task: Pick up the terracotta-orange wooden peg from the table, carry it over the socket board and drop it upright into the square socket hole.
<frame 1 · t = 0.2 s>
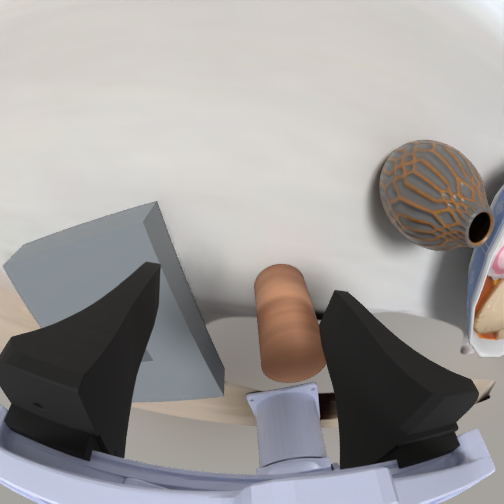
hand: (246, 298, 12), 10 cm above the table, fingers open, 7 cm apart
socket board: (123, 314, 25), on the table
vase: (405, 176, 20), on the table
peg: (279, 285, 24), on the table
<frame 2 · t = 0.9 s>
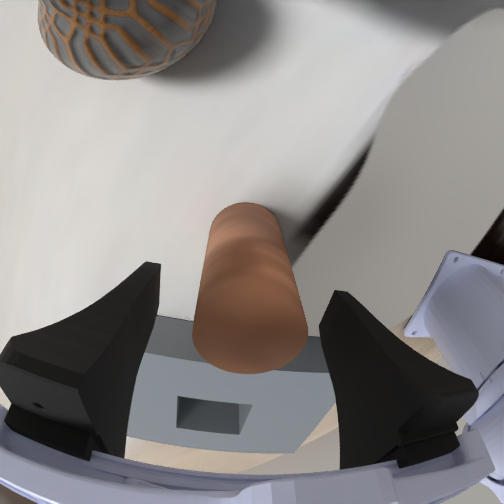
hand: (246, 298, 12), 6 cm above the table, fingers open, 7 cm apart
socket board: (213, 383, 24), on the table
vase: (153, 22, 11), on the table
peg: (245, 235, 17), on the table
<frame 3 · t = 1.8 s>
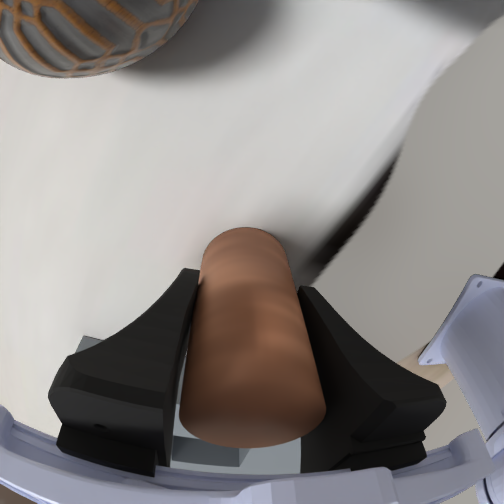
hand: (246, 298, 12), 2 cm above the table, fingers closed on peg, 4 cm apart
socket board: (210, 415, 21), on the table
vase: (131, 6, 8), on the table
peg: (244, 266, 14), on the table, touching gripper
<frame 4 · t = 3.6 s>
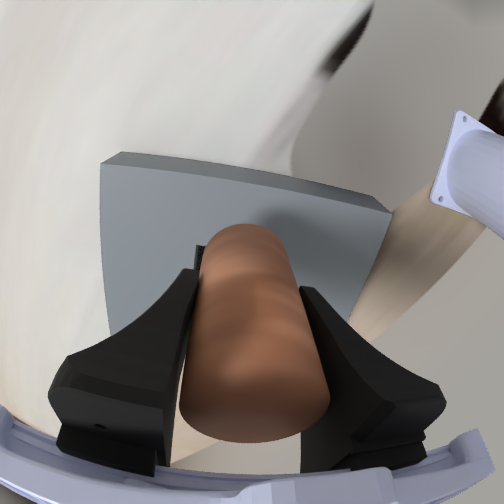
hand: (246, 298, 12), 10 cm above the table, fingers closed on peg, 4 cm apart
socket board: (233, 259, 23), on the table
peg: (244, 263, 14), point 7 cm above the table, touching gripper
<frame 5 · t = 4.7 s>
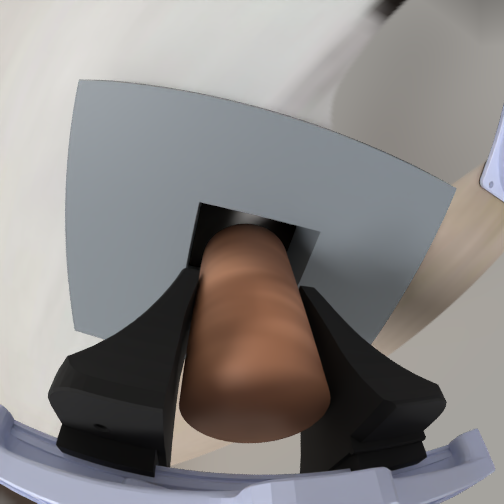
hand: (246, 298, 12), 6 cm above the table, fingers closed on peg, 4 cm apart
socket board: (243, 235, 17), on the table
peg: (244, 263, 14), point 3 cm above the table, touching gripper
when the fingers open (4 cm above the table, at t = 5.4 s): peg drops 2 cm, resting in socket board.
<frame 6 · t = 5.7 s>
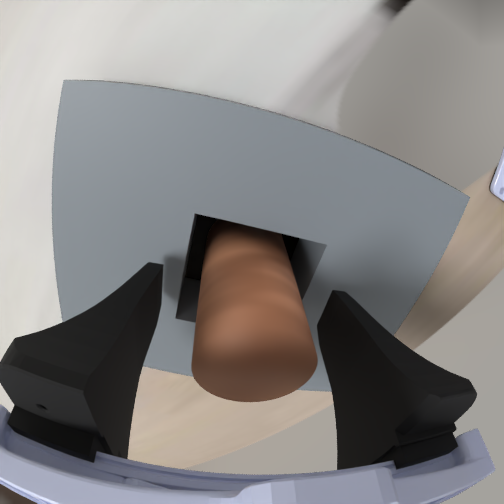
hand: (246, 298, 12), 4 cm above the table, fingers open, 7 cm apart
socket board: (243, 246, 16), on the table
peg: (244, 244, 16), resting in socket board
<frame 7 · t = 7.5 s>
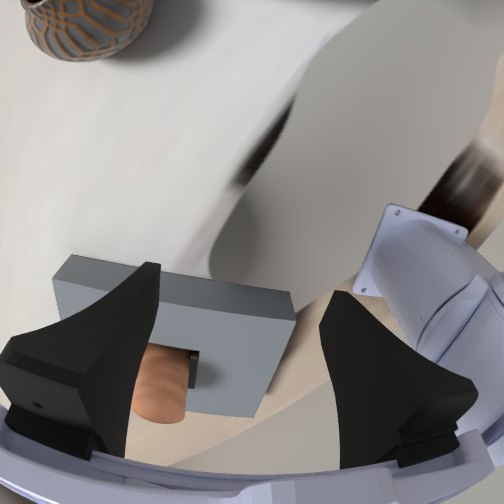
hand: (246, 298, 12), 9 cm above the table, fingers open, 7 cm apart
socket board: (170, 337, 26), on the table
vase: (115, 19, 13), on the table
peg: (170, 336, 26), resting in socket board
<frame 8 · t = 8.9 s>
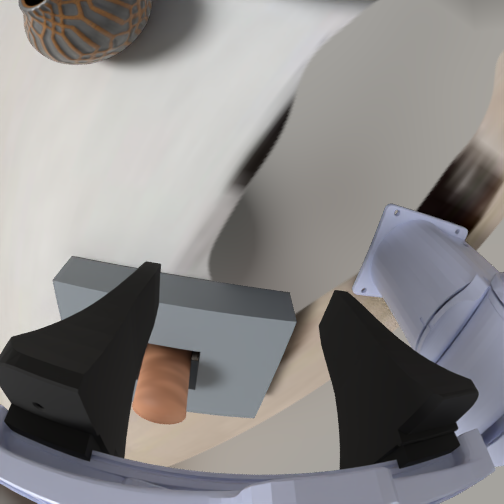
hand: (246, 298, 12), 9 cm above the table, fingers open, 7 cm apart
socket board: (171, 338, 26), on the table
vase: (113, 21, 13), on the table
peg: (171, 337, 26), resting in socket board
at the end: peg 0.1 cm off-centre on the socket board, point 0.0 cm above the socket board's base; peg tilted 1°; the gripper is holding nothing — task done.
